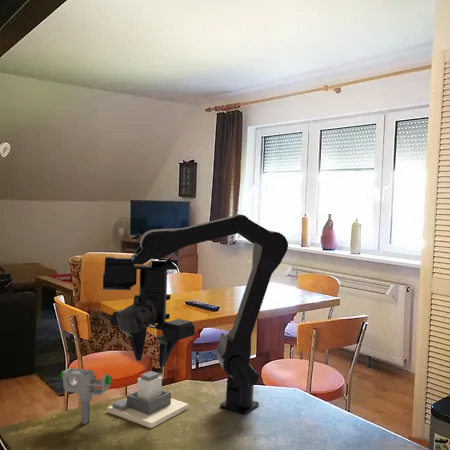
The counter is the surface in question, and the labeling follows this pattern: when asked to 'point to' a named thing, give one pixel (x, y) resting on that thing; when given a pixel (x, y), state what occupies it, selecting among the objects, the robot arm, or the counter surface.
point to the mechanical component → (84, 387)
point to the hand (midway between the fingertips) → (150, 363)
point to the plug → (149, 386)
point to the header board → (148, 409)
